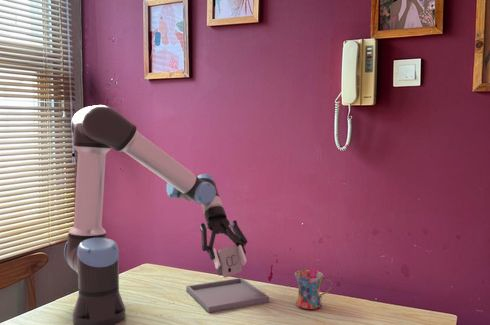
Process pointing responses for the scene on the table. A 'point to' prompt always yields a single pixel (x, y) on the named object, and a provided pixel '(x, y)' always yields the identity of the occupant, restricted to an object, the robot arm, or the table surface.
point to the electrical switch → (229, 261)
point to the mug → (309, 288)
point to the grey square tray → (226, 295)
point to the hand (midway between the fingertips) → (231, 265)
